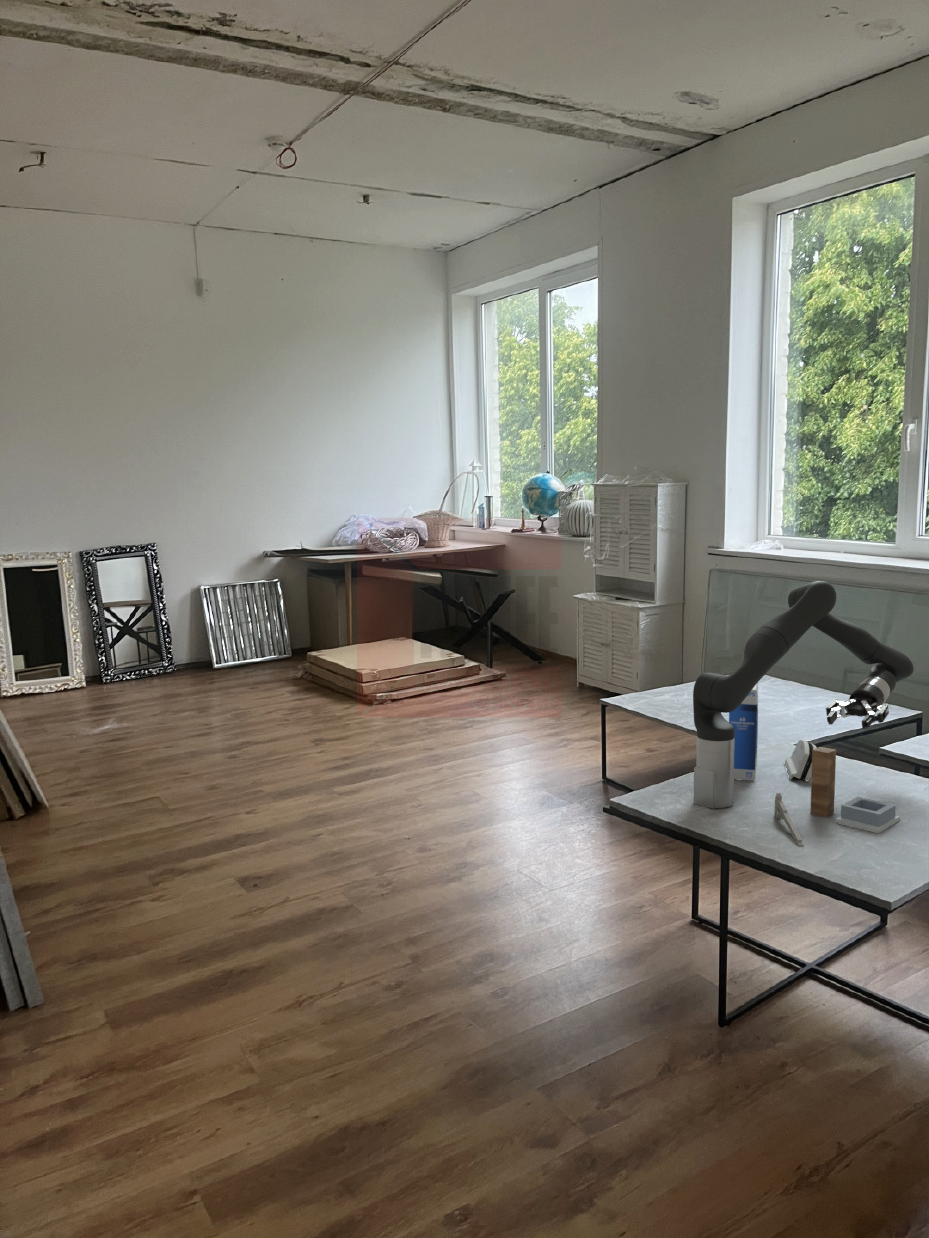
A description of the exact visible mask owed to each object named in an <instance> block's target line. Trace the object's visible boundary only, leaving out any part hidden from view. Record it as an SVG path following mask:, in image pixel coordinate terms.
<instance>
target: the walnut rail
mask: <svg viewBox="0 0 929 1238" xmlns="http://www.w3.org/2000/svg"><path fill="white" fill-rule="evenodd" d="M836 756H837V749H835V748H834V749H833V748H829V747H828V748H827V747H824V746H823V747H822V746H818V747H817V748H816V749H814V750H812V775H811V778H810V780H811V785H810V787H811V788H810V814H811V815H814V816H817V817H818V816H819V817H823V818H828V817H830V816H832V815H834V814H835V797H836V796H835V791H836V790H835V789H836V767H837V766H836V764H837V762H836V760H837V759H836V758H837V757H836Z"/></svg>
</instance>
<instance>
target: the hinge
mask: <svg viewBox="0 0 929 1238" xmlns="http://www.w3.org/2000/svg"><path fill="white" fill-rule="evenodd" d="M816 748H818V747H817V746H816V745H815V744H813V743H812V742H808V741H807V740H803V739H800V740H798V741H797V743H796V745H795V747H794V750H793V752H792V753H791V755H790V757H786V758H785V760H784V762H785V766H786V768H787V772H786V774H787V773H788V775H789V778H788V780H789V779H792V780H793V778H797V779H798V780H801V779H803V780H809V781H810V780H811V779H812V750H814V749H816ZM785 766H784V767H785ZM788 775H787V776H788Z"/></svg>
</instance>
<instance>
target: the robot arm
mask: <svg viewBox="0 0 929 1238" xmlns="http://www.w3.org/2000/svg"><path fill="white" fill-rule="evenodd" d="M836 602H837V592H836V589H835V587H834V586H833V585H832V584H831V583H829V582H827V581H823V580H816V581H812V582H808V583H807V584H802V585H800V586H798V587H796V588H793V589H792V590H791V591H790V592H789V594H788V596H787V605H788V607H789V608H788V609H787V610H785V611H783V612H782V613H780V614H778V615H776V616H774V617H773V618H772V619H770V620H768V621H767V622H765V623H764V624H763V625H761V626H760V627H759V628H758V629H757V630H756V631H755V632H754V633H753V634H752V635H751V636H750V637H749V638H748V639H747V641H746V642H745V646H744V651H743V660H742V662H741V665H740V666H739V667H737V668H736V670H734V671H733V672H731V673H730V674H728V675H725V674H719V673H715V672H704V673H701V674H700V675H699V676H697V678H696V680H695V682H694V685H693V691H692V703H693V705H692V706H693V724H694V727H695V729H696V755H695V756H696V758H695V759H696V764H695V765H696V766H694V767H693V804H695V803H697V804H696V805H699V806H702V807H705V808H709V809H711V810H713V809H714V810H715V809H724V808H729V807H732V806H733V805H734V792H735V791H734V790H735V789H734V785H735V783H734V782H735V780H734V742H735V738H734V737H735V730H734V727H733V725H731V724H730V723H729V720H728V721H727V719H725V716H723V714H722V713H725V714H726V713H727V714H729V712H732V711H734V710H735V709H736V708H737V707H738V706H739V705H740V704H741V703H742V702H743V701H744V699H745V698H746V697H747V696H748V694H749V693H750V692H751V690H752V689H753V688H754V686H755V685H756V684H757V683H758V684H759V681H761V679H763V677H764V676H765V675H766V674H767V673H768V672H769V671H770V669H771V668H773V667H774V666H775V664H777V663H778V662H779V661H780V660H781V659H782V658H783V657H784V656H785V655H786V654H788V652H790V650H791V648H792V647H793V646H794V645H795V644H796V643H797V642H798V641H799V640H800V639H801V638H802V637H803V636H804V635H805V634H806V633H807V631H808V630H809V629H810V628H811V627H813V628H816V629H817V630H818V631H820V632H822V633H824V634H825V635H826V636H828V637H830V638H832V639H833V640H834V641H836V642H838V643H839V644H841V646H843V647H844V648H846V649H847V650H848V651H849V652H850V653H852V654H853V655H854V656H855V657H856V658H857V659H859V660H860V661H861V662H863V663H864V664H865V665H872V666H871V668H870V670H869V675H868V676H867V677H866V679H864V680H862V681H861V683H859V685H858V686H857V687H856V688H855V689H854V690H853V691H852V692H851V694H850V696H849V698H848V699H847V700H845V701H840V699H839V698H834V699H833V700H832V701H830V703H829V704H827V705H826V706H825V713H826V721H827V723H828V725H833V724H834V723H835V722H836V721H837V720H838V719H839V718H844V719H845V718H848V717H851V716H852V717H853V716H854V717H855V716H856V717H860V718H863V719H862V720H861V728H862V729H865V730H867V728H869V727H871V725H872V724H874V723H876V722H878V723H884V721H885V720H886V719H887V717H888V716H889V713H890V711H889V704H888V703H886V701H887V699H888V698H889V696H890V695H891V693H892V692H893V691H894V690H895V688H896V685H897V683H898V682H900V681H902V680H905V679H907V678H909V677H911V676H912V675H913V673H914V668H915V667H914V664H913V661H912V660H911V659H910V657H908V656H907V655H906V654H905V653H903V652H902V651H900V650H897V649H895V648H893V647H891V646H889V645H886V644H884V643H882V642H880V641H879V640H878V639H877V638H876V637H875V636H873V635H872V634H871V633H870V632H869V631H867V629H864V628H863V627H861V626H859V625H857V624H854V623H852V622H850V621H847V620H844V619H843V618H840V617H838V616H836V615H834V614H832V613H831V611H833V609H834V607H835V606H836ZM838 712H839V713H838Z"/></svg>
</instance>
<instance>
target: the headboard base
mask: <svg viewBox="0 0 929 1238" xmlns="http://www.w3.org/2000/svg"><path fill="white" fill-rule="evenodd" d="M840 807H841V808H840V816H838V817H837V818H835V823H836V824H839V825H844V826H847V827H851V828H856V829H860V830H863V831H867V832H871V833H875V834H881V832H883V831H885V830H886V829H888V828H890V827H892V826H893V825H894V824H896V823H898V822H899V821H901V816H899V815H896V811H897V805H896V804H892V803H889V802H888V803H887V802H883V801H879V800H874V799H871V798H866V797H862V796H856V797H854V798H852V799H851V800H849V801H847V802H845V803H843V804H841V806H840Z"/></svg>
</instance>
